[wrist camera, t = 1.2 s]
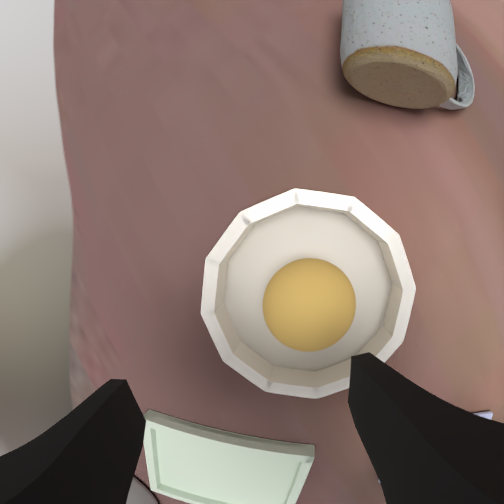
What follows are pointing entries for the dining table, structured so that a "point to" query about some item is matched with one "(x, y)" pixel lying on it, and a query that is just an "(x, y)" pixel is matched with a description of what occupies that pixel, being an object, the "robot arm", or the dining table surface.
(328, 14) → the dining table surface
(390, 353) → the bowl
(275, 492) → the tray
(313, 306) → the ball
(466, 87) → the ceramic mug
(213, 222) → the dining table surface
